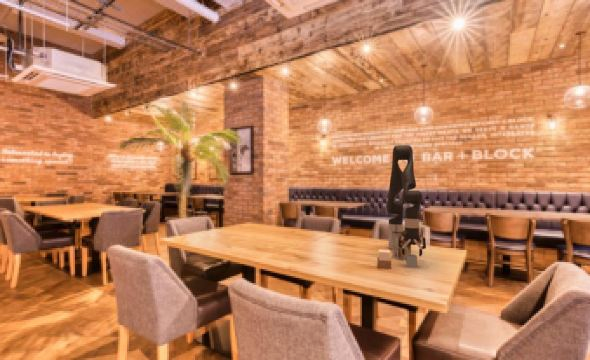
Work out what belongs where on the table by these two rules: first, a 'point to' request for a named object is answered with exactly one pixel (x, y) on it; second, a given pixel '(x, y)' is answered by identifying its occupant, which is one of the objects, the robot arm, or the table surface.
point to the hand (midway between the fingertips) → (411, 255)
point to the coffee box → (395, 248)
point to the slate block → (411, 260)
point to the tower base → (384, 264)
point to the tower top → (384, 255)
